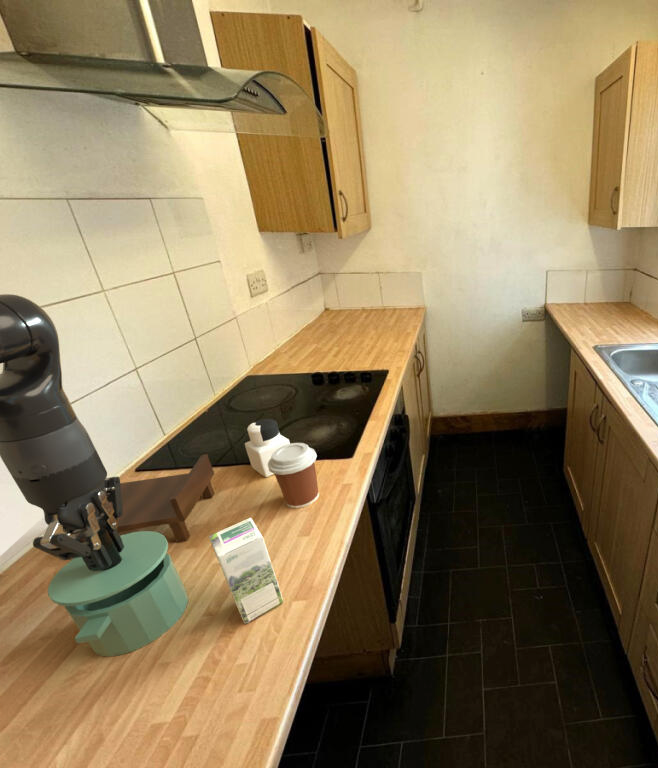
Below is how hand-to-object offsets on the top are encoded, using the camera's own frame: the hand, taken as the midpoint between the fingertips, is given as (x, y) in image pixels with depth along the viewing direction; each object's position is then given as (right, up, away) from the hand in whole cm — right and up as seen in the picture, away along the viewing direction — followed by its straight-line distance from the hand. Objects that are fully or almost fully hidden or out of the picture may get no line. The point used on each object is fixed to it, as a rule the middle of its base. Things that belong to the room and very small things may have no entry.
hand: (108, 559), depth 59 cm
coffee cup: (+12, 0, +31) cm, 33 cm away
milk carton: (+17, -10, +8) cm, 21 cm away
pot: (0, -11, +5) cm, 12 cm away
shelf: (-14, -3, +24) cm, 28 cm away
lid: (0, -1, +1) cm, 1 cm away
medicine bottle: (0, +5, +42) cm, 42 cm away
